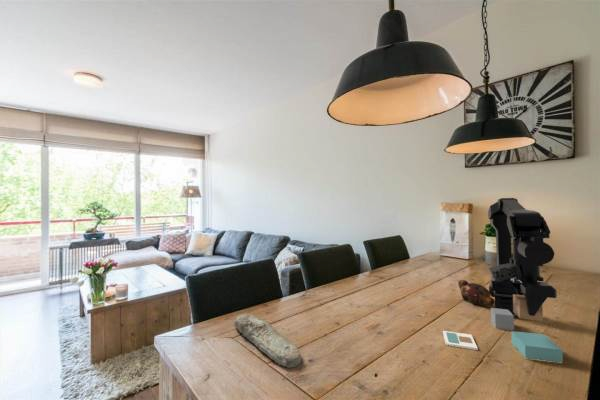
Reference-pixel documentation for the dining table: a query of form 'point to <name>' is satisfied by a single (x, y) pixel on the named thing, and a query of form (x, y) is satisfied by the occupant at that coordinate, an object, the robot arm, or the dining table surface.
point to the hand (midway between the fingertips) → (527, 311)
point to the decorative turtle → (475, 293)
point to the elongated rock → (268, 340)
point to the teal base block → (536, 346)
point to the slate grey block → (502, 319)
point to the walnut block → (525, 309)
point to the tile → (459, 340)
